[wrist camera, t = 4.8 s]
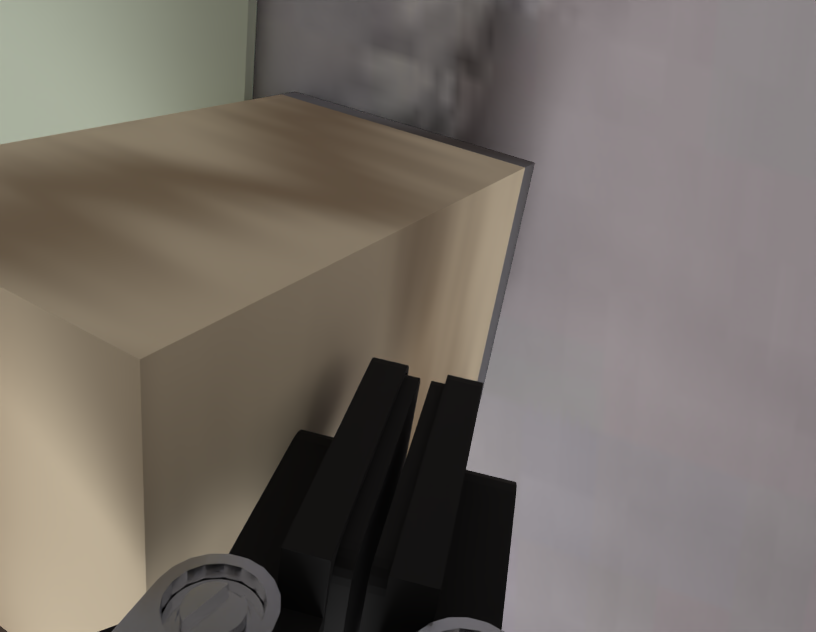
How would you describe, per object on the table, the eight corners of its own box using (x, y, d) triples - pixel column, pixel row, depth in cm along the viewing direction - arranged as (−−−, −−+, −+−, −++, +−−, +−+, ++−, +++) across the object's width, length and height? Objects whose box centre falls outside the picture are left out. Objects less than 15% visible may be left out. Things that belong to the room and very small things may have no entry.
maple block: (534, 162, 15) (140, 359, 7) (478, 408, 18) (150, 744, 10) (295, 92, 17) (-204, 180, 9) (278, 318, 20) (-116, 533, 12)
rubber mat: (265, -171, 15) (256, -174, 15) (234, 456, 23) (227, 467, 22) (-258, -254, 16) (-281, -260, 16) (-122, 364, 24) (-136, 372, 24)
